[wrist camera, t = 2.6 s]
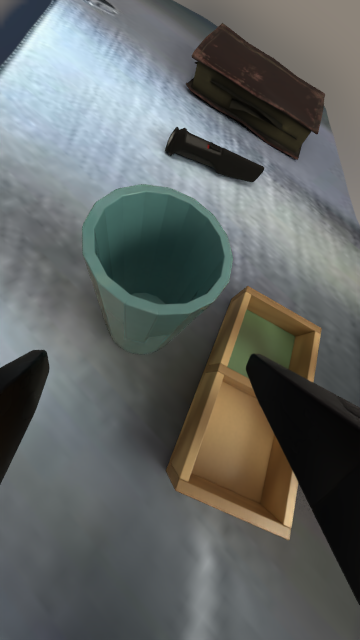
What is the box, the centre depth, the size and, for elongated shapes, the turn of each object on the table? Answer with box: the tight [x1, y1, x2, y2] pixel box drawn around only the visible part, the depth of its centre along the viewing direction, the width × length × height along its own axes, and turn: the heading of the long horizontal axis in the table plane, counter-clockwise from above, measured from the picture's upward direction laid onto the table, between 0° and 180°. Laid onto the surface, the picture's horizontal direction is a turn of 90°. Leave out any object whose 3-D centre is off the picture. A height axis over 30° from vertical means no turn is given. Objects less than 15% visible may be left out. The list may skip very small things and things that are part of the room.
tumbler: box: [82, 184, 233, 355], centre depth 15 cm, size 7×7×13 cm
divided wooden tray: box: [166, 286, 321, 540], centre depth 20 cm, size 20×10×4 cm, turn 155°
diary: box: [186, 23, 325, 160], centre depth 39 cm, size 19×25×5 cm
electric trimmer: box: [165, 127, 264, 182], centre depth 31 cm, size 4×16×3 cm, turn 80°
